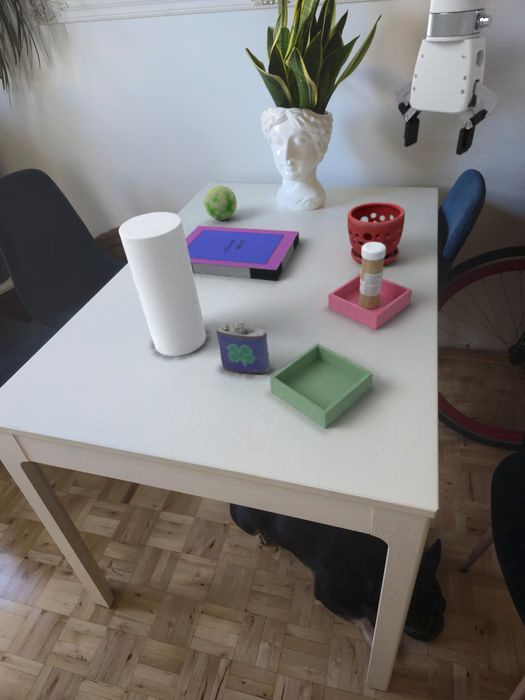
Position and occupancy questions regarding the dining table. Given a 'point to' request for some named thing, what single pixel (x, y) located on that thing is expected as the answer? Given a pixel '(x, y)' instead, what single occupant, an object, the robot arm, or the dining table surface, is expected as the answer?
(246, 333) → the flask
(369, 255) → the sprinkles bottle
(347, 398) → the green bin
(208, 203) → the decorative ball
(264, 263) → the book
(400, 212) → the flower pot
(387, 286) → the pink bin
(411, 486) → the dining table surface
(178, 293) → the tall pillar cylinder
